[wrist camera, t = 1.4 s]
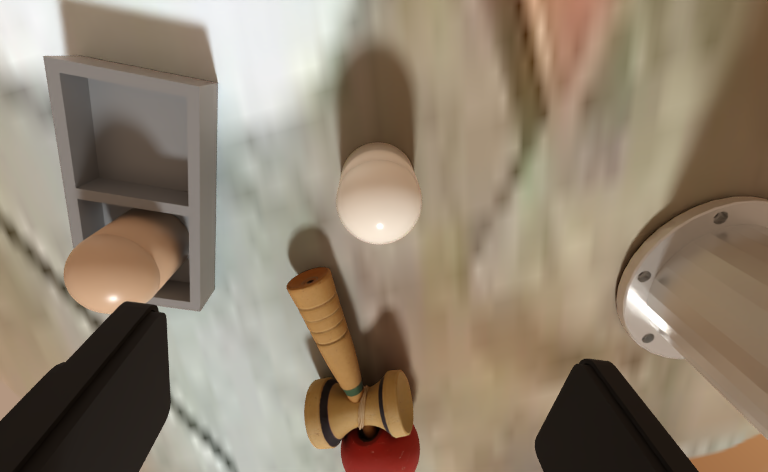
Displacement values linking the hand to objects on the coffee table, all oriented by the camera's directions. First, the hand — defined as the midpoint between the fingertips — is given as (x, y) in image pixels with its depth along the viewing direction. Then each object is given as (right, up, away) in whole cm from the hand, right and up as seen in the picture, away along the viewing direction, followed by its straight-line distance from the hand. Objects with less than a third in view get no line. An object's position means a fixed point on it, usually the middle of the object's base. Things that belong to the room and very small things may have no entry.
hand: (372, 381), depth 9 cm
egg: (0, +7, +15) cm, 16 cm away
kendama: (-2, -6, +21) cm, 22 cm away
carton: (-13, +6, +14) cm, 21 cm away
